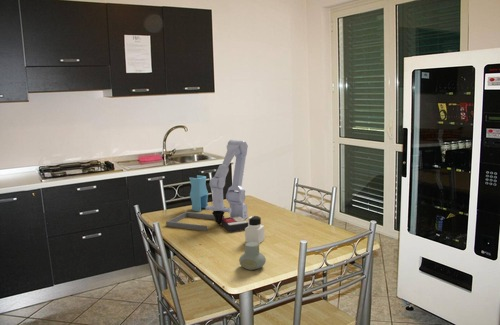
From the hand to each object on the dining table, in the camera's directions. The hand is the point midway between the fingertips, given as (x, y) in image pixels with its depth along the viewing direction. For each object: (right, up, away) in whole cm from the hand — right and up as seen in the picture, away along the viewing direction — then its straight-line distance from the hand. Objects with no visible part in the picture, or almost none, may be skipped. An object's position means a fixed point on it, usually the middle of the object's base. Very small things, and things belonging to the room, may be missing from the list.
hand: (219, 224), depth 245 cm
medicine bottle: (+19, -5, -25) cm, 32 cm away
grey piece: (-13, 0, +6) cm, 14 cm away
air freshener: (+18, -11, -56) cm, 59 cm away
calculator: (+9, -2, -2) cm, 9 cm away
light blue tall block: (-14, +4, +34) cm, 37 cm away
